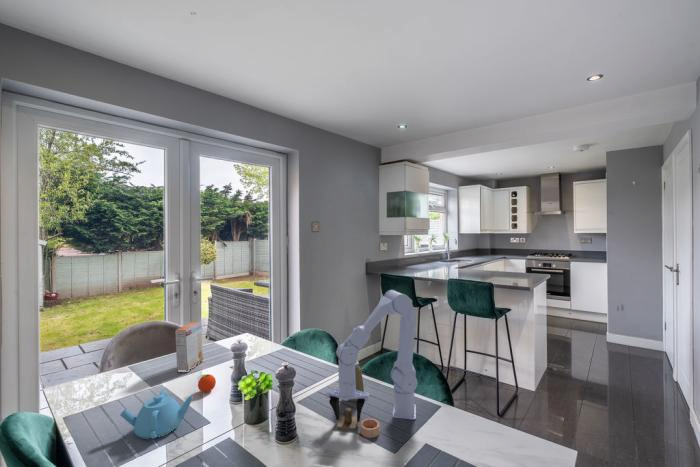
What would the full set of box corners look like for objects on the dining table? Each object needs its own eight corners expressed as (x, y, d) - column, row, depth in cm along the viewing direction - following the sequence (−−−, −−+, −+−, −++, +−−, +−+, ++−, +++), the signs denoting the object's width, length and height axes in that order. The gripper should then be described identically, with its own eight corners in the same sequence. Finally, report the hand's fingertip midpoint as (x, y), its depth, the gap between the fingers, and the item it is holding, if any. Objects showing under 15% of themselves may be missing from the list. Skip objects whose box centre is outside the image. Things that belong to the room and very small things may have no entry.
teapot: (159, 412, 124) (158, 382, 123) (195, 420, 118) (194, 389, 118) (118, 436, 109) (117, 403, 109) (157, 447, 103) (155, 412, 103)
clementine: (192, 394, 136) (191, 377, 136) (203, 386, 143) (202, 370, 143) (209, 396, 134) (208, 379, 134) (219, 388, 141) (219, 371, 141)
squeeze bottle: (362, 404, 125) (361, 357, 125) (341, 403, 126) (340, 356, 126) (365, 394, 133) (364, 350, 132) (346, 392, 134) (345, 349, 134)
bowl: (362, 426, 111) (362, 417, 111) (380, 428, 110) (380, 419, 110) (359, 437, 105) (359, 428, 105) (378, 439, 104) (377, 430, 104)
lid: (341, 417, 116) (341, 404, 116) (359, 419, 115) (358, 405, 115) (336, 428, 110) (336, 414, 110) (355, 430, 108) (355, 416, 108)
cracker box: (192, 361, 172) (191, 321, 171) (203, 361, 171) (202, 321, 171) (175, 373, 158) (174, 329, 157) (187, 373, 157) (186, 329, 157)
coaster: (338, 416, 118) (338, 415, 117) (363, 418, 116) (363, 417, 116) (332, 431, 109) (332, 430, 109) (358, 434, 107) (358, 433, 107)
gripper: (323, 383, 110) (324, 424, 110) (366, 387, 107) (367, 428, 107) (329, 374, 116) (330, 412, 117) (369, 377, 113) (370, 416, 114)
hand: (348, 419), depth 112 cm, fingers open, 7 cm apart
